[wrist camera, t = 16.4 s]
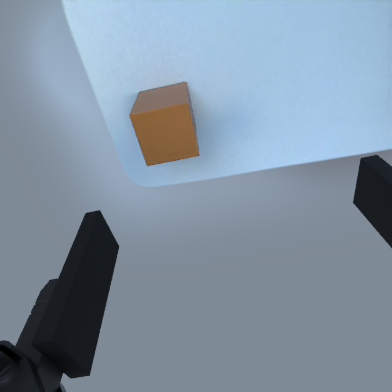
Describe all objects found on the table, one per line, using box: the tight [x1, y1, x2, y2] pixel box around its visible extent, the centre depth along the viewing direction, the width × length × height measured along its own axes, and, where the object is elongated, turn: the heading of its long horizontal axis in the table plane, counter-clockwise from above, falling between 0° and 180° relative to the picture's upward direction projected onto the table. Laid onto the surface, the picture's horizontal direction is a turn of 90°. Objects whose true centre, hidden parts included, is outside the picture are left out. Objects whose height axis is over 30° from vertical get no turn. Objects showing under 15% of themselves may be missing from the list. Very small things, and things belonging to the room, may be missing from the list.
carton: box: [130, 82, 199, 166], centre depth 24 cm, size 4×4×6 cm
